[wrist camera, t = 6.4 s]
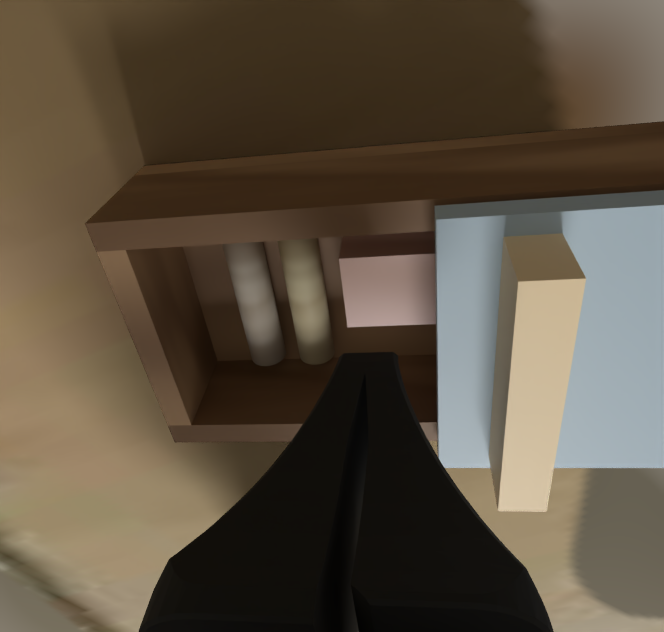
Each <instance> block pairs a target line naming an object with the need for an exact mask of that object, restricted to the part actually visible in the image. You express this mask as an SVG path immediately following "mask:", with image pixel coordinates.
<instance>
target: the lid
mask: <svg viewBox="0 0 664 632" xmlns="http://www.w3.org/2000/svg"><path fill="white" fill-rule="evenodd" d="M435 286H436V367H437V447H438V458H439V460H440V462H441V463H442V465H443V466H444V468H491V473H492V479H493V485H494V491H495V497H496V502H497V508H498V511H538V512H546V511H547V505H548V499H549V494H550V488H551V482H552V476H553V470H554V468H664V190H658V191H644V192H629V193H614V194H600V195H585V196H570V197H556V198H541V199H526V200H512V201H497V202H482V203H468V204H453V205H438V206H435Z"/></svg>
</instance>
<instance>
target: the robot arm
mask: <svg viewBox="0 0 664 632" xmlns="http://www.w3.org/2000/svg"><path fill="white" fill-rule="evenodd" d="M139 632H553V628H552V625H551V622H550V619H549V617H548V614H547V611H546V609H545V606H544V604H543V601H542V599H541V597H540V595H539V593H538V591H537V589H536V587H535V585H534V583H533V581H532V579H531V577H530V575H529V573H528V571H527V569H526V568H525V567H524V566H523V564H522V563H521V562H520V561H519V560H518V559H517V558H516V557H515V556H514V555H513V554H512V553H511V552H510V551H509V550H508V549H507V548H506V547H505V546H504V544H503V543H502V542H501V541H500V540H499V539H498V538H497V537H496V536H495V534H494V533H493V532H492V531H491V530H490V528H489V527H488V526H487V525H486V524H485V523H484V521H483V520H482V519H481V518H480V517H479V515H478V514H477V513H476V511H475V510H474V509H473V507H472V506H471V505H470V503H469V502H468V501H467V500H466V498H465V497H464V496H463V494H462V493H461V492H460V490H459V489H458V488H457V486H456V485H455V483H454V482H453V480H452V479H451V477H450V476H449V474H448V473H447V471H446V470H445V468H444V466H443V465H442V463H441V462H440V460H439V458H438V457H437V455H436V453H435V452H434V450H433V448H432V446H431V444H430V443H429V441H428V439H427V437H426V435H425V433H424V431H423V429H422V427H421V425H420V423H419V421H418V419H417V417H416V414H415V412H414V410H413V407H412V405H411V403H410V400H409V398H408V395H407V392H406V390H405V387H404V384H403V380H402V377H401V373H400V369H399V363H398V355H397V354H395V353H394V352H367V353H343V354H342V355H341V356H340V357H339V359H338V362H337V364H336V366H335V369H334V371H333V373H332V375H331V377H330V379H329V381H328V383H327V385H326V387H325V389H324V390H323V392H322V394H321V396H320V397H319V399H318V401H317V403H316V404H315V406H314V408H313V409H312V411H311V413H310V414H309V416H308V417H307V419H306V420H305V422H304V423H303V425H302V426H301V428H300V429H299V431H298V432H297V434H296V435H295V437H294V438H293V439H292V441H291V442H290V443H289V445H288V446H287V447H286V449H285V450H284V451H283V453H282V454H281V455H280V456H279V458H278V459H277V460H276V461H275V462H274V464H273V465H272V466H271V467H270V468H269V470H268V471H267V472H266V473H265V474H264V475H263V476H262V477H261V478H260V480H259V481H258V482H257V483H256V484H255V485H254V486H253V487H252V488H251V489H250V490H249V491H248V492H247V493H246V494H245V495H244V496H243V497H242V498H241V499H240V500H239V501H238V502H237V503H236V504H235V505H234V506H233V507H232V508H231V509H230V510H229V511H227V512H226V513H225V514H224V515H223V516H222V517H221V518H220V519H219V520H218V521H217V522H215V523H214V524H213V525H212V526H211V527H210V528H209V529H207V530H206V531H205V532H204V533H202V534H201V535H200V536H199V537H197V538H196V539H195V540H194V541H192V542H191V543H190V544H188V545H187V546H186V547H185V548H183V549H182V550H181V551H179V552H178V553H177V554H176V555H174V556H173V557H171V558H170V559H169V561H168V562H167V564H166V566H165V568H164V570H163V572H162V574H161V576H160V578H159V580H158V582H157V584H156V586H155V588H154V591H153V593H152V596H151V599H150V601H149V604H148V607H147V610H146V612H145V615H144V618H143V621H142V623H141V626H140V629H139Z"/></svg>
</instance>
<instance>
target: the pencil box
mask: <svg viewBox="0 0 664 632" xmlns="http://www.w3.org/2000/svg"><path fill="white" fill-rule="evenodd" d="M658 190H664V122H652V123H641V124H629V125H617V126H605V127H594V128H582V129H570V130H558V131H547V132H535V133H523V134H511V135H500V136H488V137H476V138H464V139H453V140H441V141H429V142H417V143H406V144H394V145H382V146H370V147H359V148H347V149H335V150H323V151H312V152H300V153H288V154H276V155H265V156H253V157H241V158H229V159H218V160H206V161H194V162H182V163H171V164H159V165H147V166H144V167H143V168H142V169H141V170H140V171H139V172H137V173H136V174H135V175H134V176H133V177H132V178H131V179H130V180H129V181H128V182H127V183H126V184H125V185H124V186H123V187H122V188H121V189H120V190H119V191H118V192H117V193H116V194H115V195H114V196H113V197H112V198H111V199H110V200H109V201H108V202H107V203H106V204H105V205H104V206H103V207H102V208H101V209H100V210H98V211H97V212H96V213H95V214H94V215H93V216H92V217H91V218H90V219H89V220H88V221H87V222H86V223H85V225H86V227H87V230H88V232H89V235H90V237H91V240H92V242H93V244H94V247H95V249H96V252H97V254H98V257H99V259H100V261H101V264H102V266H103V269H104V271H105V274H106V276H107V278H108V281H109V283H110V286H111V288H112V291H113V293H114V296H115V298H116V300H117V303H118V305H119V308H120V310H121V313H122V315H123V317H124V320H125V322H126V325H127V327H128V330H129V332H130V335H131V337H132V339H133V342H134V344H135V347H136V349H137V352H138V354H139V356H140V359H141V361H142V364H143V366H144V369H145V371H146V373H147V376H148V378H149V381H150V383H151V386H152V388H153V391H154V393H155V395H156V398H157V400H158V403H159V405H160V408H161V410H162V412H163V415H164V417H165V420H166V422H167V425H168V427H169V429H170V432H171V434H172V437H173V439H174V442H291V441H292V439H293V438H294V437H295V435H296V434H297V432H298V431H299V429H300V428H301V426H302V425H303V423H304V422H305V420H306V419H307V417H308V416H309V414H310V413H311V411H312V409H313V408H314V406H315V404H316V403H317V401H318V399H319V397H320V396H321V394H322V392H323V390H324V389H325V387H326V385H327V383H328V381H329V379H330V377H331V375H332V373H333V371H334V369H335V366H336V364H337V362H338V359H339V357H340V356H341V355H342V354H343V353H367V352H394V353H395V354H397V355H398V363H399V369H400V373H401V377H402V380H403V384H404V387H405V390H406V392H407V395H408V398H409V400H410V403H411V405H412V407H413V410H414V412H415V414H416V417H417V419H418V421H419V423H420V425H421V427H422V429H423V431H424V433H425V435H426V437H427V439H428V441H437V367H436V286H435V206H438V205H453V204H468V203H482V202H497V201H512V200H526V199H541V198H556V197H570V196H585V195H600V194H614V193H629V192H644V191H658Z"/></svg>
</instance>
